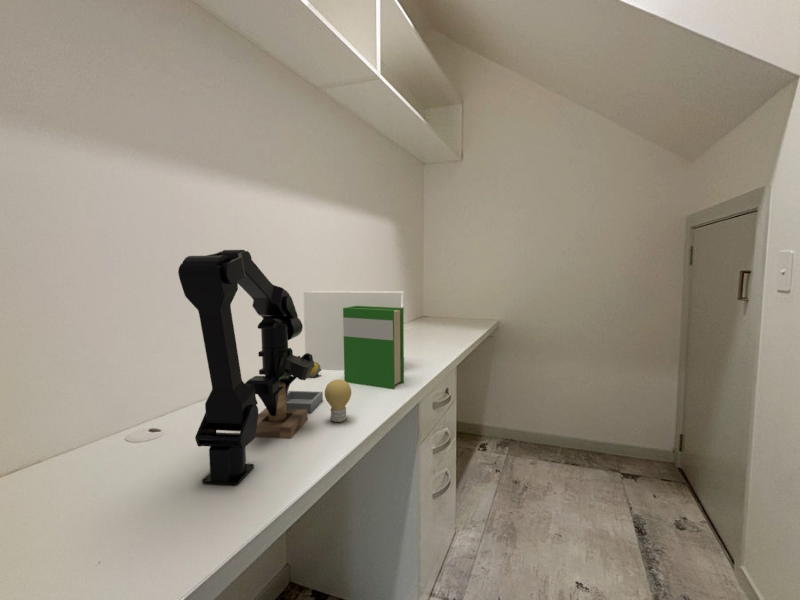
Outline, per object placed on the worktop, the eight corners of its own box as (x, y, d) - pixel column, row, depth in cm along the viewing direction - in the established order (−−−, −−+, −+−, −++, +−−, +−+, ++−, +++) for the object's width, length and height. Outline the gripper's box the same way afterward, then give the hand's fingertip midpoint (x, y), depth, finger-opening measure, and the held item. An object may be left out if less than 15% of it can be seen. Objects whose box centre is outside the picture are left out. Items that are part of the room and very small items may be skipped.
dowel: (282, 430, 90) (281, 387, 89) (265, 429, 90) (264, 387, 89) (289, 423, 94) (288, 382, 93) (273, 423, 94) (271, 381, 93)
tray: (311, 413, 101) (310, 403, 100) (275, 412, 102) (274, 402, 101) (322, 400, 110) (322, 391, 110) (289, 399, 111) (289, 390, 111)
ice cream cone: (325, 378, 134) (307, 362, 127) (311, 383, 135) (293, 368, 128) (325, 365, 138) (308, 349, 131) (312, 371, 139) (294, 356, 132)
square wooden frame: (290, 438, 86) (290, 427, 86) (245, 436, 87) (244, 425, 87) (307, 419, 97) (307, 409, 96) (266, 418, 98) (266, 408, 98)
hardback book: (403, 382, 126) (403, 307, 124) (393, 389, 120) (392, 310, 117) (356, 376, 134) (355, 305, 132) (344, 382, 127) (343, 308, 125)
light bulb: (350, 425, 93) (350, 383, 92) (323, 426, 93) (322, 384, 92) (352, 415, 99) (352, 376, 98) (327, 415, 99) (326, 376, 98)
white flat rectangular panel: (305, 369, 144) (303, 292, 141) (314, 363, 152) (312, 290, 149) (400, 372, 138) (400, 292, 135) (404, 366, 146) (403, 291, 143)
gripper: (293, 355, 80) (295, 430, 82) (321, 338, 99) (323, 399, 100) (241, 354, 81) (244, 428, 83) (279, 337, 100) (281, 398, 101)
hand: (277, 412), depth 92 cm, fingers closed on dowel, 4 cm apart
